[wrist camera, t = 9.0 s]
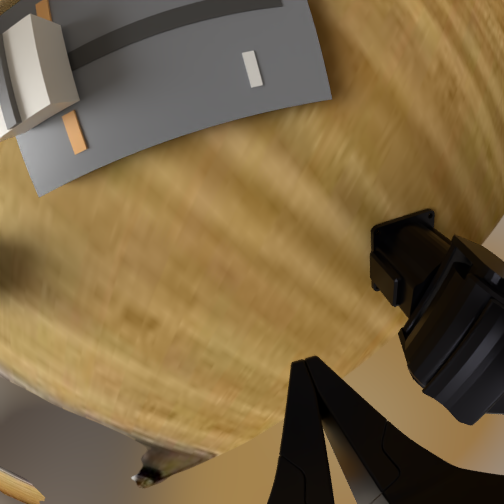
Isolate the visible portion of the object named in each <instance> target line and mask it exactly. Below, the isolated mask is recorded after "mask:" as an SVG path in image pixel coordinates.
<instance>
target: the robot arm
mask: <svg viewBox="0 0 504 504" xmlns="http://www.w3.org/2000/svg"><path fill="white" fill-rule="evenodd" d="M429 214H430V215H429ZM434 216H435V214H434V211H432V210H431V209H426V210H423V211H419V212H416V213H413V214H410V215H407V216H404V217H401V218H397V219H394V220H391V221H388V222H385V223H382V224H378V225H375V226H374V227H373V228H372V229H371V253H370V278H371V280H372V288H373V289H374V290H375V291H381V292H382V293H383V295H384V296H385V297H386V298H387V300H388V301H389V302H390V304H391V305H392V306H394V307H396V306H399V307H400V308H401V310H402V311H403V312H404V314H405V315H406V316H407V317H408V321H407V322H406V324H405V325H404V327H402V328H401V329H400V331H399V332H398V335H399V338H400V342H401V345H402V348H403V351H404V354H405V358H406V361H407V366H408V369H409V371H410V374H411V376H412V378H413V379H414V380H415V381H416V382H417V383H418V384H419V385H420V386H421V387H422V388H424V389H423V390H422V392H423V393H424V394H426V395H428V396H430V397H432V398H434V399H435V400H437V401H438V402H440V403H441V404H442V405H443V406H444V407H445V408H447V409H448V410H449V412H450V413H451V414H452V415H453V416H454V417H455V418H456V419H457V420H458V421H459V422H461V423H464V424H467V425H473V424H474V423H476V422H477V421H478V420H479V419H480V418H481V417H482V416H483V415H484V414H485V413H487V414H503V415H504V262H503V261H502V260H501V259H500V258H498V257H497V256H496V255H494V254H493V253H492V252H490V251H489V250H488V249H486V248H484V247H483V246H481V245H479V244H476V243H474V242H472V241H469V240H467V239H464V238H462V237H459V236H457V235H454V236H453V238H452V240H451V241H450V240H449V239H448V238H446V237H445V236H444V235H442V234H441V233H440V232H439V231H437V230H436V229H435V228H434ZM378 230H379V231H378ZM377 231H378V233H376V232H377ZM323 429H324V431H325V433H326V435H327V438H328V440H329V442H330V444H331V447H332V449H333V451H334V453H335V455H336V457H337V460H338V462H339V464H340V466H341V469H342V471H343V473H344V475H345V478H346V480H347V482H348V484H349V486H350V489H351V491H352V493H353V495H354V497H355V500H356V502H357V504H504V475H497V474H490V473H484V472H478V471H472V470H467V469H462V468H458V467H456V466H453V465H451V464H449V463H447V462H446V461H444V460H442V459H441V458H439V457H437V456H436V455H434V454H432V453H431V452H429V451H428V450H426V449H425V448H423V447H421V446H420V445H418V444H417V443H415V442H414V441H413V440H411V439H410V438H408V437H407V436H406V435H404V434H403V433H402V432H401V431H399V430H398V429H397V428H396V427H395V426H394V425H392V424H391V423H390V422H389V421H387V419H386V418H384V417H383V416H382V415H381V414H380V413H379V412H378V411H377V410H375V409H374V408H373V407H372V406H371V405H370V404H369V403H368V402H367V401H365V400H364V399H363V398H362V397H361V396H360V395H359V394H358V393H357V392H356V391H354V390H353V389H352V388H351V387H350V386H349V385H348V384H347V383H346V382H345V381H344V380H342V379H341V378H340V377H339V376H338V375H337V374H336V373H335V372H334V371H333V370H332V369H331V368H330V367H328V366H327V365H326V364H325V363H324V362H323V361H322V360H321V359H320V358H319V357H317V356H312V357H308V358H305V360H303V359H301V360H298V361H294V362H292V363H291V370H290V378H289V387H288V395H287V403H286V411H285V418H284V426H283V433H282V439H281V446H280V453H279V454H280V456H279V458H278V465H277V470H276V475H275V480H274V483H273V487H272V490H271V494H270V497H269V499H268V502H267V504H334V496H333V489H332V483H331V476H330V469H329V463H328V457H327V451H326V445H325V438H324V433H323Z"/></svg>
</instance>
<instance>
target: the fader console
mask: <svg viewBox="0 0 504 504" xmlns="http://www.w3.org/2000/svg"><path fill="white" fill-rule="evenodd" d="M29 14H33V15H36V16H38V17H41V18H44V19H46V20H49V21H52V22H54V23H57V24H59V25H61V29H62V34H63V38H64V43H65V47H66V51H67V55H68V59H69V63H70V67H71V71H72V74H73V78H74V82H75V85H76V88H77V92H78V95H79V98H80V101H78V102H76V103H74V104H73V105H71V106H69V107H67V108H65V109H63V110H62V111H60V112H58V113H56V114H55V115H53V116H51V117H49V118H48V119H46V120H44V121H43V122H41V123H40V124H38V125H36V126H35V127H33V128H32V129H30V130H29V131H27V132H26V133H23V134H20V135H17V136H16V139H17V142H18V145H19V148H20V151H21V153H22V156H23V159H24V162H25V164H26V167H27V169H28V172H29V175H30V177H31V180H32V182H33V184H34V187H35V189H36V191H37V194H38V196H39V197H41V196H43V195H45V194H47V193H48V192H50V191H52V190H54V189H56V188H58V187H60V186H62V185H64V184H66V183H68V182H70V181H72V180H74V179H76V178H78V177H80V176H82V175H85V174H87V173H89V172H91V171H93V170H96V169H98V168H100V167H102V166H105V165H107V164H109V163H112V162H114V161H116V160H119V159H121V158H123V157H126V156H128V155H131V154H133V153H136V152H138V151H141V150H144V149H146V148H149V147H152V146H154V145H157V144H160V143H163V142H165V141H168V140H171V139H174V138H177V137H180V136H183V135H186V134H189V133H192V132H195V131H198V130H202V129H205V128H208V127H212V126H215V125H218V124H222V123H225V122H229V121H233V120H236V119H240V118H244V117H248V116H252V115H256V114H260V113H264V112H269V111H273V110H278V109H282V108H287V107H292V106H297V105H302V104H307V103H313V102H318V101H324V100H330V99H332V96H331V91H330V86H329V82H328V77H327V73H326V68H325V64H324V60H323V56H322V52H321V48H320V44H319V40H318V36H317V33H316V29H315V25H314V22H313V18H312V15H311V12H310V8H309V5H308V2H307V0H20V1H19V2H18V3H16V4H15V5H14V6H12V7H11V8H10V9H8V10H7V11H6V12H4V13H3V14H2V15H1V16H0V34H3V33H4V32H5V31H7V30H8V29H9V28H11V27H12V26H13V25H15V24H16V23H17V22H19V21H20V20H21V19H23V18H24V17H26V16H27V15H29Z"/></svg>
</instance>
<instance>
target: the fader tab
mask: <svg viewBox="0 0 504 504" xmlns="http://www.w3.org/2000/svg"><path fill="white" fill-rule="evenodd" d="M78 101H80V98H79V95H78V92H77V88H76V85H75V82H74V78H73V74H72V71H71V67H70V63H69V59H68V55H67V51H66V47H65V43H64V38H63V34H62V29H61V25H59V24H57V23H54V22H52V21H49V20H46V19H44V18H41V17H38V16H36V15H33V14H29V15H27V16H26V17H24V18H23V19H21V20H20V21H19V22H17V23H16V24H15V25H13V26H12V27H11V28H9V29H8V30H7V31H5V32H4V33H3V34H0V142H1V141H3V140H6V139H9V138H11V137H14V136H17V135H20V134H23V133H26V132H27V131H29V130H30V129H32V128H33V127H35V126H36V125H38V124H40V123H41V122H43V121H44V120H46V119H48V118H49V117H51V116H53V115H55V114H56V113H58V112H60V111H62V110H63V109H65V108H67V107H69V106H71V105H73V104H74V103H76V102H78Z"/></svg>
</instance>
